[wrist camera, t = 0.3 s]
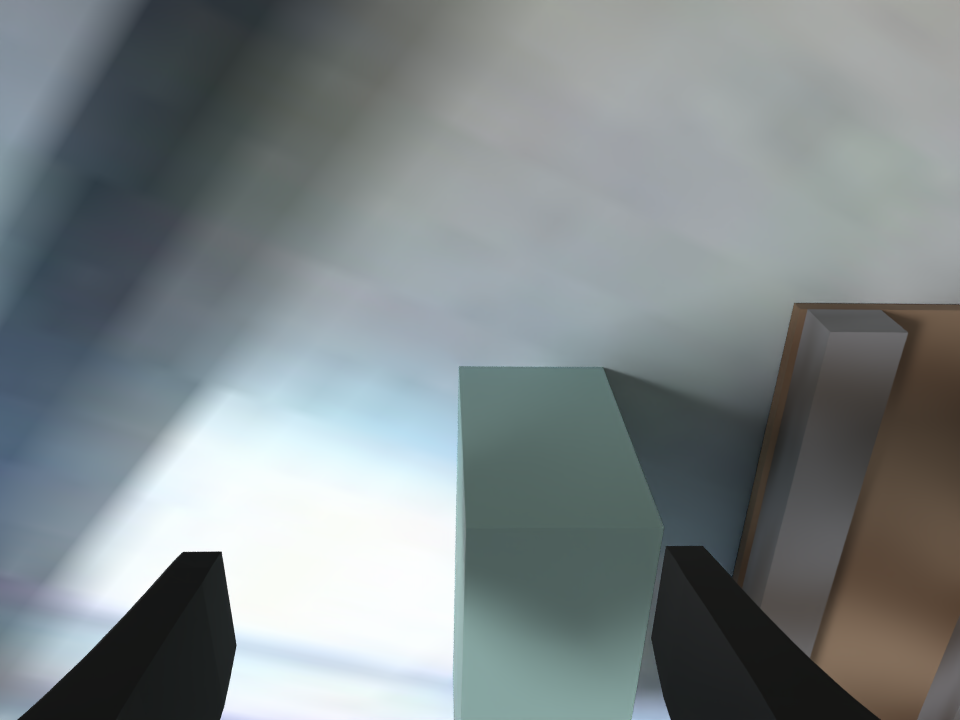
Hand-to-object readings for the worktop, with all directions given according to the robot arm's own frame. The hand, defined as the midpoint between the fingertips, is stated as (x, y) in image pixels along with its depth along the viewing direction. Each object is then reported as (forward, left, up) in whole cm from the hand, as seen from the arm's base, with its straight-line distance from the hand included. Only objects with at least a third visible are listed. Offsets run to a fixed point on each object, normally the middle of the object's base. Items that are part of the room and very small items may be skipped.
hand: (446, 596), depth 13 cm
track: (-9, -14, -10) cm, 19 cm away
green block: (-7, -2, -10) cm, 12 cm away
